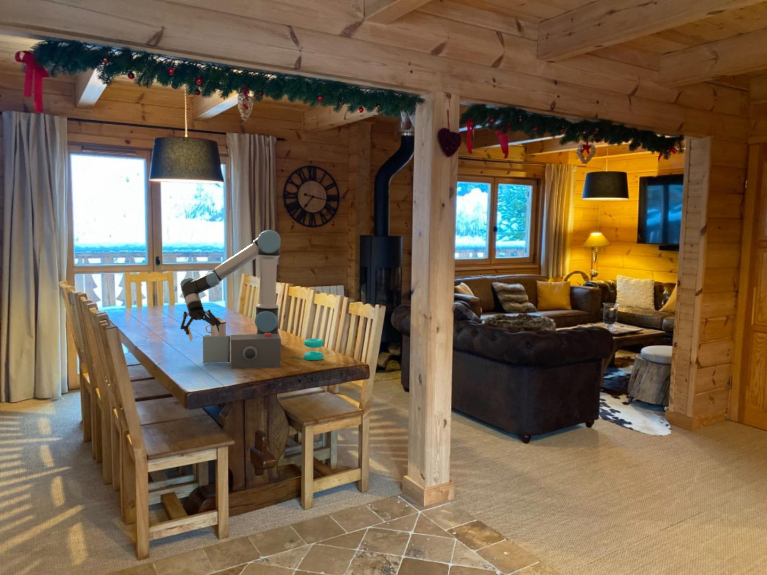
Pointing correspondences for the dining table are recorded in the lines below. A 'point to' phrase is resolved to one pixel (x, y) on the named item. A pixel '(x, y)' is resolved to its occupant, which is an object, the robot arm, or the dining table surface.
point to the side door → (216, 349)
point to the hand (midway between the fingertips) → (204, 338)
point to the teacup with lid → (221, 328)
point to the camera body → (255, 351)
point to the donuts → (313, 344)
